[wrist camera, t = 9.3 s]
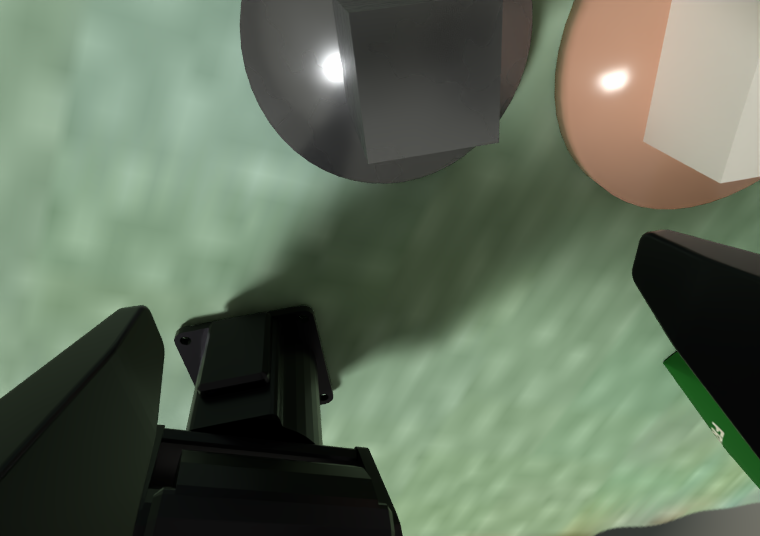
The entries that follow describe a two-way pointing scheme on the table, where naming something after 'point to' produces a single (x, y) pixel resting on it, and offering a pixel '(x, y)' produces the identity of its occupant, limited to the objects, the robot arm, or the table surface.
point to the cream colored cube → (709, 89)
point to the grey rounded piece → (385, 79)
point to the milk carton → (714, 417)
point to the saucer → (622, 105)
